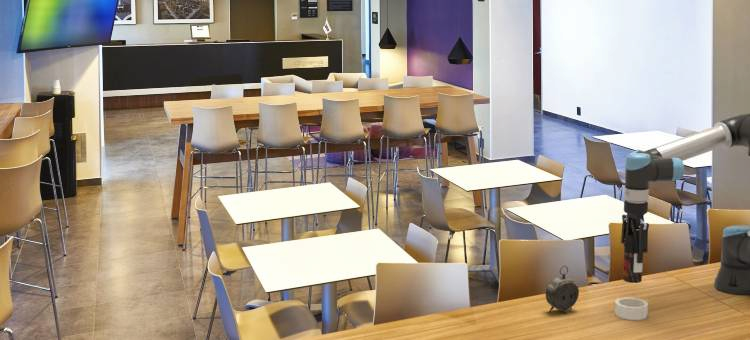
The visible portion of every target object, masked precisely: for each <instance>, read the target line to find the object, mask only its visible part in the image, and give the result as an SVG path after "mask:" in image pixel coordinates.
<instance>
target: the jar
mask: <svg viewBox="0 0 750 340" xmlns="http://www.w3.org/2000/svg"><path fill="white" fill-rule="evenodd" d="M648 311H649V302H647V301H646V300H645V299H641V298H637V297H619V298H617V299H615V302H614V315H615V316H616V317H618V318H620V319H623V320H627V321H642V320H645V319H647V318H648V313H649V312H648Z"/></svg>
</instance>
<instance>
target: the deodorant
mask: <svg viewBox="0 0 750 340" xmlns="http://www.w3.org/2000/svg"><path fill="white" fill-rule="evenodd" d="M624 240H625V246H624V245H623V248H624V250H623V269H622V270H623V273H622V280H623V281H624V282H626V283H630V284H638V283H641V282H642V281H643V280H642V278H643V277H642V276H643V271H642V272H636V273H634V272H633V271H634V252H636V247H635V237H634V234H631V235H625V239H624Z"/></svg>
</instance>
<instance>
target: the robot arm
mask: <svg viewBox="0 0 750 340" xmlns="http://www.w3.org/2000/svg"><path fill="white" fill-rule="evenodd" d="M733 147H746V148H747V157H748V158H749V159H750V113H742V114H738V115H735V116H731V117H729V118H726V119H723V120H720V121H717V122H715V123H714V124H713V126H712V127H710V128H707V129H703V130H701V131H698V132H695V133H692V134H690V135H687V136H684V137H681V138H678V139H676V140H673V141H669V142H667V143H664V144H661V145H659V146H656V147H654V148H653V147H652V148H650V149H647V150H644V151H643V150H637V149H636V150H633V151H632V152H631V153H628V154H627V156H626V159H625V165H624V166H625V167H624V168H625V172H624V173H625V175H624V191H623V194H624V202H623V212H624V213H625V214H622V215H621V219H622V223H621V225H622V227H621V238H620V243H621V244H623V247H624V246H625V235H631V234H634V237H635V247H636V252H634V271H633V272H634V273H636V272H642V273H643V264H644V261H643V260H644V254H646V253H647V254H648V247H649V245H648V244H649V243H648V242H649V241H648V239H649V234H648V233H649V227H650V224H649V223H648V222H645V217H644V216H645V214H648V212H649V202H648V201H649V192H650V183H660V182H675V181H680V180H682V178H683V177H684V175H685V164H684V161H686V160H688V159H692V158H695V157H698V156H700V155H704V154H706V153H708V152H709V153H710V152H711V151H712V152H713V151H714V150H718V149H721V148H722V149H729V148H733ZM722 230H723V231H722V237H721V256H720V267H719V269H718V272H717V274H716V277H715V278H714V281H713V282H714V285H713V287H714V288H715V289H716V290H718V291H721V292H724V293H727V294H733V295H740V296H741V295H742V296H743V295H745V296H746V295H750V225H731V226H729V225H728V226H726V227H725V228H724V229H722Z"/></svg>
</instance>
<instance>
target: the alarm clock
mask: <svg viewBox="0 0 750 340" xmlns="http://www.w3.org/2000/svg"><path fill="white" fill-rule="evenodd" d="M563 268H566V270H567V271H566V273H562V269H563ZM568 272H569V267H568V266H566V265H562V266H561V267H560V268H559V274H560V275H559V276H557V277H555V278H553V279H552V280H551V281H550V282H549V283H548V285H547V286H546V289H545V300H546V302H547V304H549V305H550V306H551V307H550V310H548V313H551V312H552V311H553V309H556V310H558V311H564V314H566V315H567V310H569V309H570V310H572V309H573V306H575V304H576V302H577V301H578V299H579V294H580V289H579V286H578V285H577V283H576V282H575V281H574V280H573V279H571V278H569V277H567V276H566V275H567V274H568Z"/></svg>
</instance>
